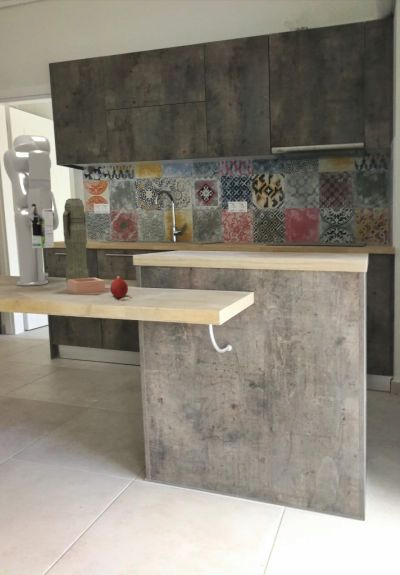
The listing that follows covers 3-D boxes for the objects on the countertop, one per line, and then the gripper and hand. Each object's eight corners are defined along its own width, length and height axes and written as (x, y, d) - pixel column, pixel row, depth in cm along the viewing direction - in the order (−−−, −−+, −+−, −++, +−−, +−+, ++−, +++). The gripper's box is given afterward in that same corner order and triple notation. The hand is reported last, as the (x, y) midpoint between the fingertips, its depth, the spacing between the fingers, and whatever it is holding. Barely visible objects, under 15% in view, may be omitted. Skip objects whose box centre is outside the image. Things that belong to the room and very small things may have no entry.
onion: (120, 297, 185) (119, 274, 184) (131, 299, 182) (131, 275, 181) (107, 299, 181) (106, 276, 180) (118, 301, 177) (118, 277, 176)
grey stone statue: (59, 288, 211) (55, 198, 206) (76, 284, 222) (72, 199, 217) (78, 289, 208) (74, 198, 203) (94, 285, 219) (91, 198, 214)
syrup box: (31, 248, 195) (29, 208, 193) (43, 247, 200) (41, 208, 198) (43, 248, 192) (41, 207, 190) (54, 247, 198) (53, 207, 196)
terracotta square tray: (67, 290, 196) (67, 279, 195) (95, 288, 201) (94, 277, 201) (76, 293, 187) (75, 282, 186) (105, 291, 192) (104, 280, 192)
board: (75, 290, 205) (75, 287, 205) (119, 291, 201) (119, 288, 200) (51, 297, 188) (51, 293, 188) (98, 298, 183) (97, 295, 183)
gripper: (43, 187, 202) (45, 234, 205) (17, 184, 186) (20, 236, 188) (61, 186, 201) (63, 234, 203) (36, 184, 184) (39, 236, 186)
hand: (42, 234), depth 196 cm, fingers closed on syrup box, 6 cm apart
